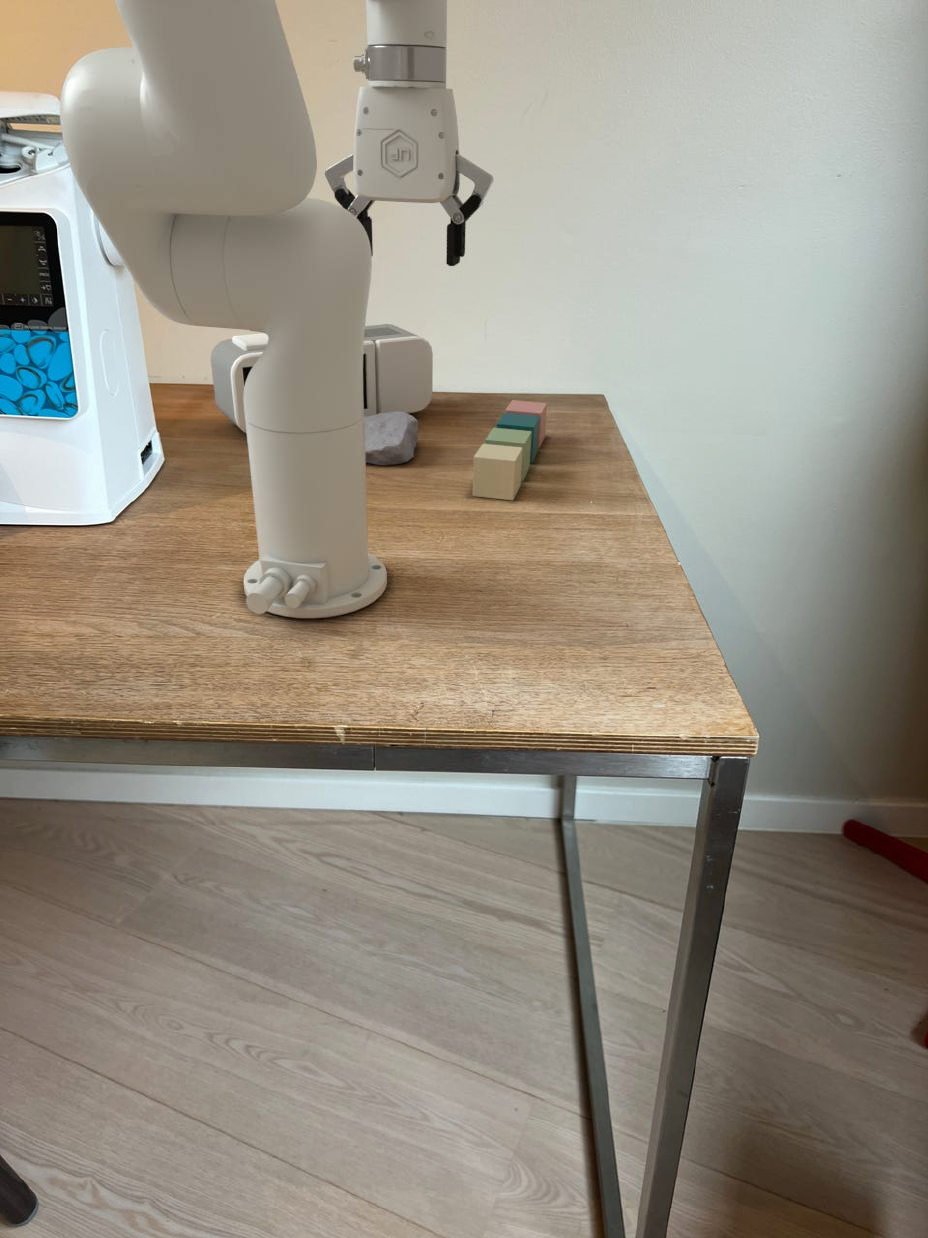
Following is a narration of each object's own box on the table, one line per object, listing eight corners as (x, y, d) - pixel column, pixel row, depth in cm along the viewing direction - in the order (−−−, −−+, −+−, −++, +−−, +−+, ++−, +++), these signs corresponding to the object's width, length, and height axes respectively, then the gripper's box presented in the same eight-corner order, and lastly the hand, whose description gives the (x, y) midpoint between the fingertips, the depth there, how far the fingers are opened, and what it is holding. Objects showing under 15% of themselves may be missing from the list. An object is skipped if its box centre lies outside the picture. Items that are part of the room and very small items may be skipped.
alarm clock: (240, 447, 112) (229, 350, 106) (218, 426, 119) (207, 334, 113) (433, 418, 124) (433, 329, 119) (402, 400, 131) (401, 316, 125)
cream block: (513, 500, 99) (515, 460, 97) (472, 496, 100) (473, 456, 98) (520, 485, 103) (522, 447, 101) (481, 481, 104) (482, 443, 102)
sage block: (522, 481, 104) (524, 443, 102) (483, 477, 105) (485, 439, 103) (529, 468, 108) (531, 431, 106) (491, 464, 109) (493, 427, 107)
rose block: (539, 448, 114) (541, 413, 112) (503, 445, 115) (505, 409, 113) (544, 437, 118) (547, 402, 116) (510, 434, 119) (512, 399, 117)
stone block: (410, 480, 108) (421, 438, 116) (407, 445, 105) (419, 404, 113) (313, 477, 110) (331, 436, 117) (307, 443, 106) (325, 402, 114)
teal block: (531, 463, 109) (534, 426, 107) (494, 460, 110) (496, 423, 108) (537, 451, 113) (540, 415, 111) (502, 448, 114) (503, 412, 112)
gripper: (307, 67, 85) (318, 261, 93) (487, 70, 81) (481, 271, 90) (335, 70, 91) (343, 252, 99) (503, 73, 88) (496, 261, 96)
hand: (408, 261), depth 95 cm, fingers open, 9 cm apart
